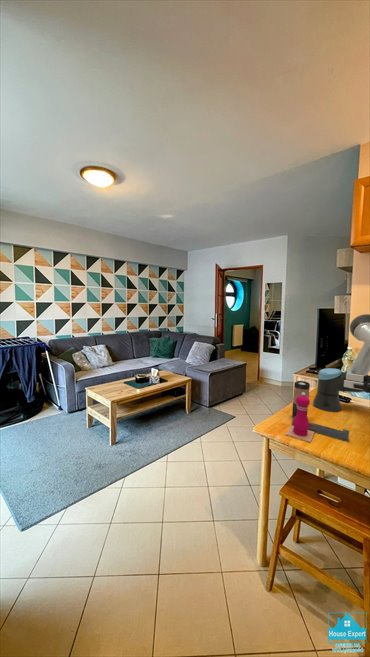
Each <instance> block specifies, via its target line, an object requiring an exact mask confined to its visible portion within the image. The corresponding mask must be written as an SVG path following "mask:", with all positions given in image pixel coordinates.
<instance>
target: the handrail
mask: <svg viewBox="0 0 370 657" xmlns="http://www.w3.org/2000/svg"><path fill="white" fill-rule="evenodd" d="M294 418H295V416H293V417H292V418H291V419H292V420H291V425H292V426H294V425H293V420H294ZM307 430H310V431H313V432H315V434H320V435H323V436H326V437H330V438H334V439H337V440H340V441H343V442H347V443H348V442H349V436H350V430H349V429H345V428H343V429H342V430H341V429H336V428H333V427H329V426H326V425H322V424H317V423H313V422H311V421H309V428H308V429H307Z"/></svg>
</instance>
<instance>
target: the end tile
mask: <svg viewBox="0 0 370 657" xmlns="http://www.w3.org/2000/svg"><path fill="white" fill-rule="evenodd" d="M293 428H294V426H292V424H290V426H289V427H288V429H287V431H286V432H285V436H288V437H290V438H294V439H296V440H300V441H304V442H307V443H310V444H311V443H312V441H313V438H314V435H315V434H316V432H313V431H310V430H308V433H307V435H306V436H300V435H297V434H295V433H294V432H293Z"/></svg>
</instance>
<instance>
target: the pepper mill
mask: <svg viewBox="0 0 370 657" xmlns="http://www.w3.org/2000/svg"><path fill="white" fill-rule="evenodd" d="M310 401H311V400H310V397H309V398H308V397H307V396H305V393H304V392H303V393H301V395H299V396H298V397H297V398H296V403H297V415H296V416H295V418H294V420H293V425H294V428H293V432H294V433H295V434H297V435H300V436H306V435H307V433H308V430H307V429H308V428H309V422H310V421H309V419H308V411H307V410H309V405H310V404H311V402H310Z"/></svg>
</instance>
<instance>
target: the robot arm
mask: <svg viewBox="0 0 370 657" xmlns="http://www.w3.org/2000/svg"><path fill="white" fill-rule="evenodd" d="M349 331H350V334H351V335H352V336H353V337H354V338H355V339H356V340H357V341H361V342H363V344H362V346H361V348H360V350H359V352H358V353H357V356H356V357H355V360H354V361H353V363H352V365H351V366H348V367H347V369H346V370H345V371H341V369H338V368H331V367H330V368H327V367H326V368H323V369H320V370H319V372H318V376H317V389H316V394H315V396H314V399H313V401H312V405H313V406H314V407H315V408H317V409H319V410H322V411H326V412H331V413H333V412H337V413H338V412H340V411H341V409H342V404H341V401H340V398H339V396H340V395H339V394H340V392H346V393H347V392H348V393H365V394H366V393H367V394H370V375H369V373H370V313H369V314H368V313H367V314H366V313H365V314H360V315H358V316H356V317H355V318H353V320H352V321H351V322H350V325H349Z"/></svg>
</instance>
